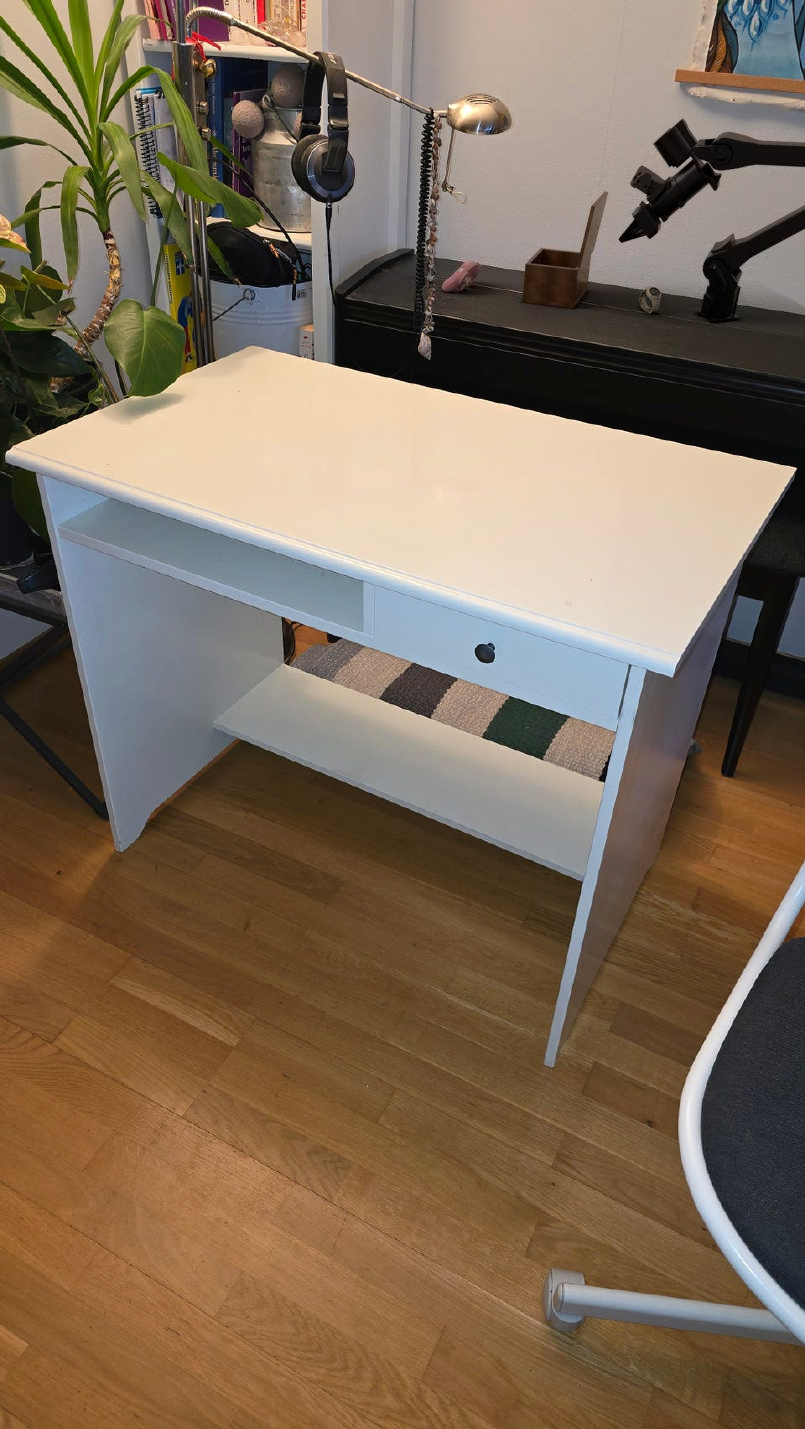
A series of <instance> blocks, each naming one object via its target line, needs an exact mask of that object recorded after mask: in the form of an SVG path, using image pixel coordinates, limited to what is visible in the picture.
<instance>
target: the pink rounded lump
mask: <svg viewBox="0 0 805 1429" xmlns="http://www.w3.org/2000/svg"><path fill="white" fill-rule="evenodd" d="M482 270H483V265H482V264H480V263H479V262H478V261H475V260H474V259H473V260H470V261H469V260H468V261H465V262H463V263H462V264H461V266H460V267H459V268H457V270H456V271H455V272H454V273H453V274H452V275H451V276H450V277H449V278H447V279H446V280H444V282H443V283H442V286H441V288H442V291H444V292H446V293H449V292H453V291H455V290H456V289H458V290H459V291H463V290H464V289H465V288H466V287H467V288H468V287H470V286H471V285H473V282H474V280H476V278H478V276H479V275H480V274H481V271H482Z"/></svg>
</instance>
